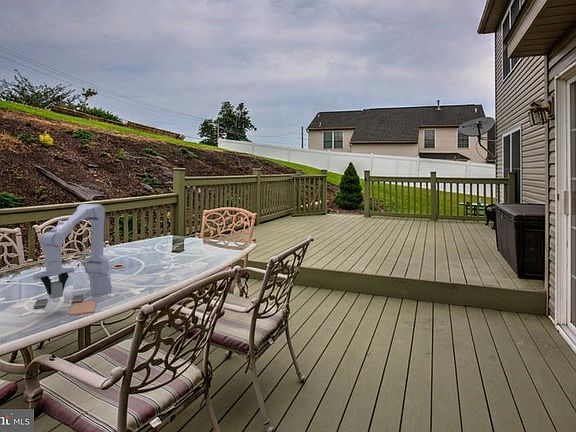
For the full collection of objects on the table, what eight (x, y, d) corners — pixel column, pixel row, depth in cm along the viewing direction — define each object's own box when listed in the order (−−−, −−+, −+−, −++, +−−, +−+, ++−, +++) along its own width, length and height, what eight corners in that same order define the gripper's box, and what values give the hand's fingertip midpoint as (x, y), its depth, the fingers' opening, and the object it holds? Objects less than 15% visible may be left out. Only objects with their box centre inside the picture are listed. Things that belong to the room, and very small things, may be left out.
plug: (55, 291, 154) (54, 278, 154) (62, 296, 149) (62, 282, 148) (44, 294, 151) (43, 280, 150) (52, 298, 146) (51, 284, 145)
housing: (83, 297, 167) (83, 294, 167) (82, 303, 160) (81, 299, 160) (37, 302, 159) (37, 299, 159) (33, 309, 152) (33, 305, 152)
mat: (95, 302, 162) (95, 300, 162) (94, 312, 150) (94, 311, 150) (72, 304, 158) (72, 303, 158) (69, 315, 147) (69, 314, 146)
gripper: (69, 256, 155) (70, 286, 157) (29, 262, 144) (31, 294, 145) (75, 258, 151) (77, 289, 152) (35, 265, 139) (37, 298, 141)
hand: (55, 292), depth 149 cm, fingers closed on plug, 4 cm apart
